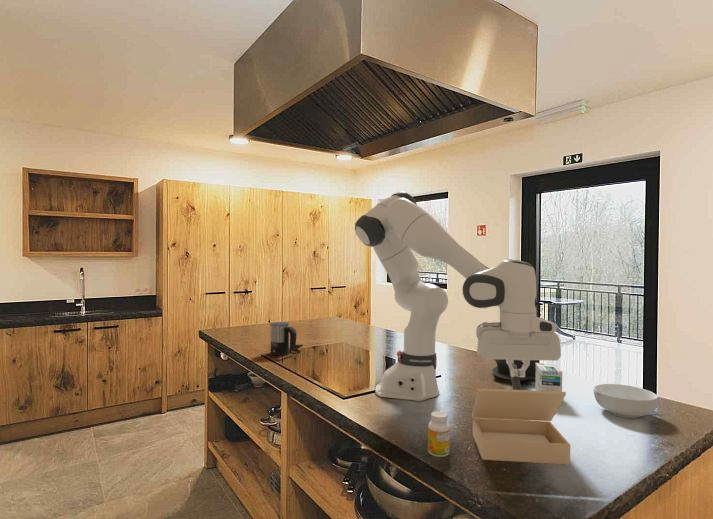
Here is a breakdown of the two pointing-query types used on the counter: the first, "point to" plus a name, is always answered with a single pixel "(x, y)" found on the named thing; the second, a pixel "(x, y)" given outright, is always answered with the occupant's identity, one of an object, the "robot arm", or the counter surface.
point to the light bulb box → (548, 377)
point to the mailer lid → (517, 403)
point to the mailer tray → (521, 450)
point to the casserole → (504, 372)
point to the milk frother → (282, 338)
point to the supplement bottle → (439, 434)
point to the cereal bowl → (625, 400)
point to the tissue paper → (514, 437)
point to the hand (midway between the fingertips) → (517, 376)
